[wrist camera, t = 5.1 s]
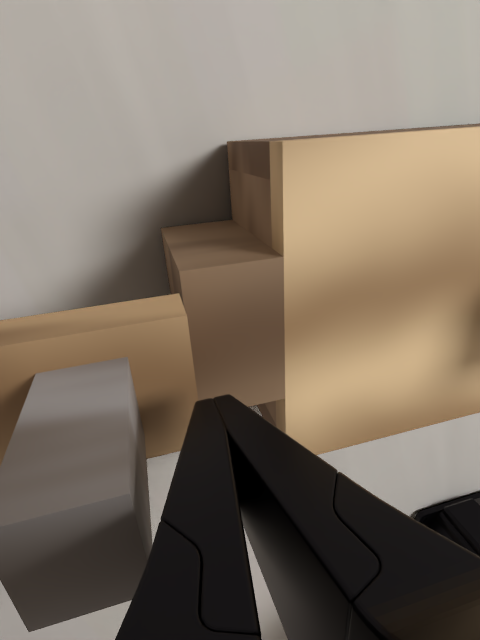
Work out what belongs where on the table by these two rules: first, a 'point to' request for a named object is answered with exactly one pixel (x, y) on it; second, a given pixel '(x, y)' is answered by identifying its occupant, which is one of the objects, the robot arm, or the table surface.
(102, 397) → the block
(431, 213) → the lid
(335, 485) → the robot arm
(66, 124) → the table surface
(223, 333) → the toolbox
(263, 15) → the table surface
